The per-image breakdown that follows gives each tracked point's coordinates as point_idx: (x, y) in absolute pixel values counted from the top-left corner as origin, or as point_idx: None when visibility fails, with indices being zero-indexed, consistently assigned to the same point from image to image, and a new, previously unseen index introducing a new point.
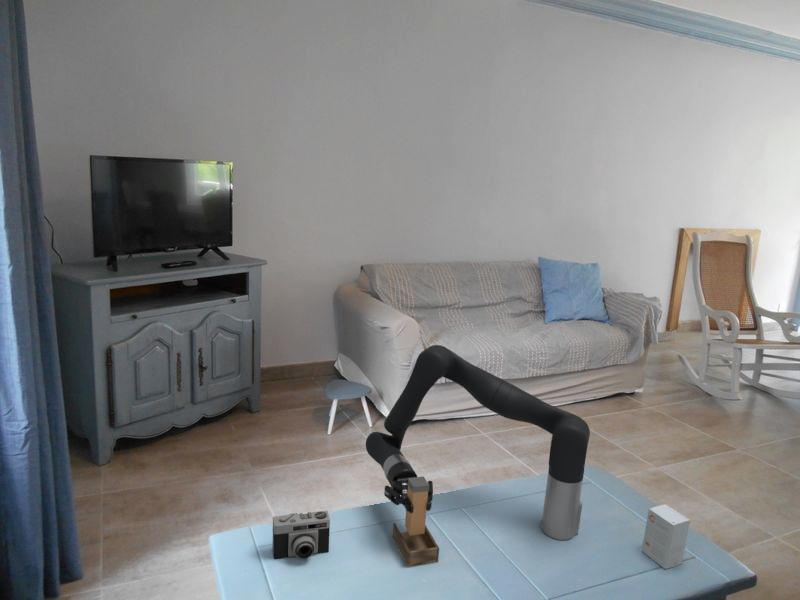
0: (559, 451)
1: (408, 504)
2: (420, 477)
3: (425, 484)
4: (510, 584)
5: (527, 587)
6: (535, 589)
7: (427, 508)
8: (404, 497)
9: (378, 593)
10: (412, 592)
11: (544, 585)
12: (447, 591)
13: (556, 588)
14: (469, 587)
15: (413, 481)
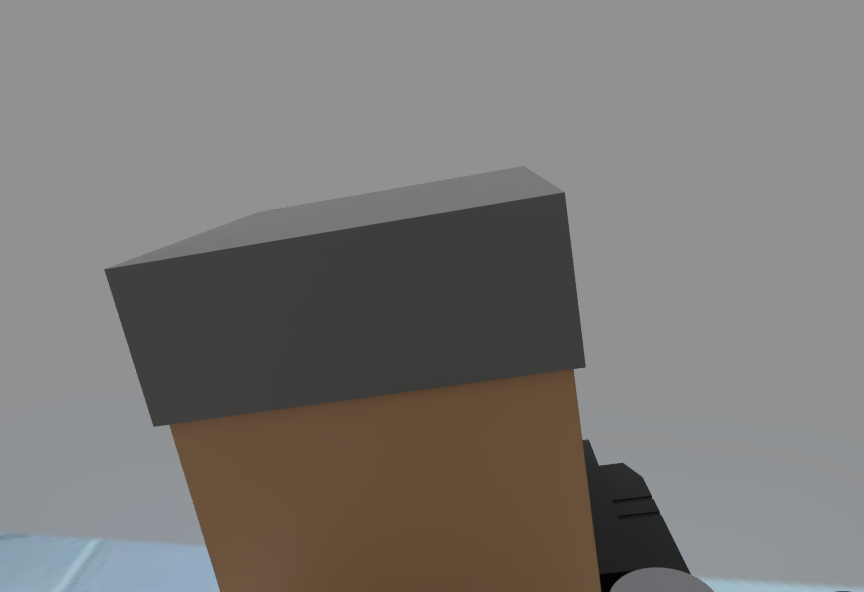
0: None
1: (615, 491)
2: (218, 246)
3: (302, 206)
4: (152, 583)
5: (110, 565)
6: (95, 555)
7: None
8: (682, 573)
9: (848, 588)
10: None
11: (41, 568)
12: None
13: (23, 554)
14: None
15: (468, 189)
